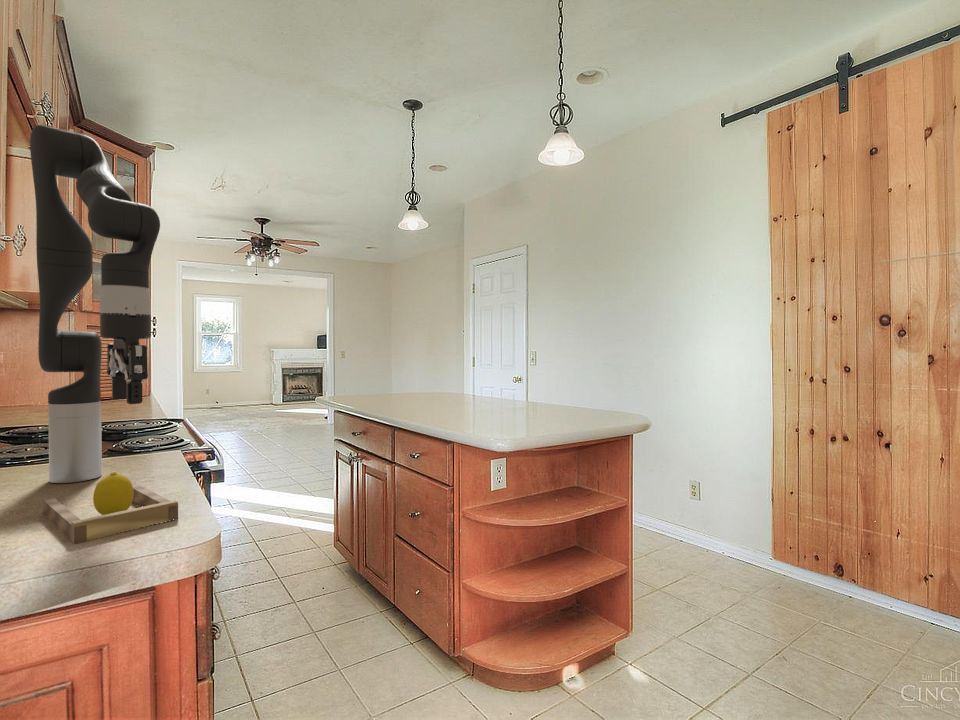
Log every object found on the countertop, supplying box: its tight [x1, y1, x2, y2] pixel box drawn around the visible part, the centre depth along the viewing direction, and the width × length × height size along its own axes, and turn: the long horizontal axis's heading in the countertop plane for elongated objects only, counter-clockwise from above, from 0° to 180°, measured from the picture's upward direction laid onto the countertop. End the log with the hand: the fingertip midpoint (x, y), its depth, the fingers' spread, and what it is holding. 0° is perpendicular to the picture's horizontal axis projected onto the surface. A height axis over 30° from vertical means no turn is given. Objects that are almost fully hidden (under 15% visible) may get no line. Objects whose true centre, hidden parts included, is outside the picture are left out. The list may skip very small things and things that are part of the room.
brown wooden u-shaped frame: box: [41, 483, 179, 544], centre depth 86 cm, size 22×14×3 cm, turn 51°
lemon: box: [92, 471, 134, 515], centre depth 84 cm, size 6×6×8 cm
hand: (126, 401), depth 90 cm, fingers open, 8 cm apart
